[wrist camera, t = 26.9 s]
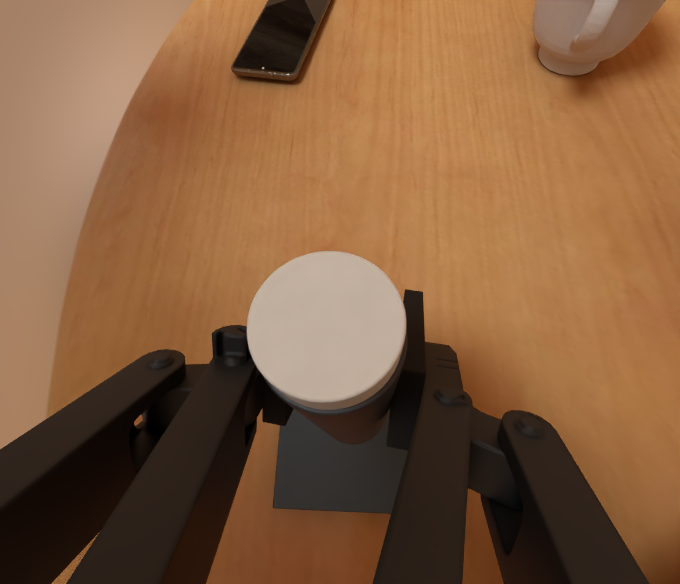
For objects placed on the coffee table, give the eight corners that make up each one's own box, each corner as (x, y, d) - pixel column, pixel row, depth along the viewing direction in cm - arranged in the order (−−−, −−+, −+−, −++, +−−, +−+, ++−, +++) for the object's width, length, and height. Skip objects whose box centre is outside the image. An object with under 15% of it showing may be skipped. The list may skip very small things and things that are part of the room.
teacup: (483, 102, 36) (520, -19, 27) (521, 11, 42) (563, -116, 32) (619, 134, 34) (712, 11, 24) (641, 31, 39) (724, -101, 30)
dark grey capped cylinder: (320, 445, 18) (228, 406, 7) (323, 378, 20) (252, 246, 8) (387, 447, 18) (417, 411, 6) (386, 379, 19) (408, 244, 8)
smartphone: (335, -14, 44) (295, 75, 38) (335, -4, 45) (297, 85, 39) (276, -18, 46) (227, 68, 39) (277, -8, 47) (231, 78, 40)
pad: (275, 507, 23) (272, 508, 23) (289, 349, 28) (287, 346, 27) (440, 514, 23) (442, 515, 22) (429, 350, 27) (431, 347, 26)
